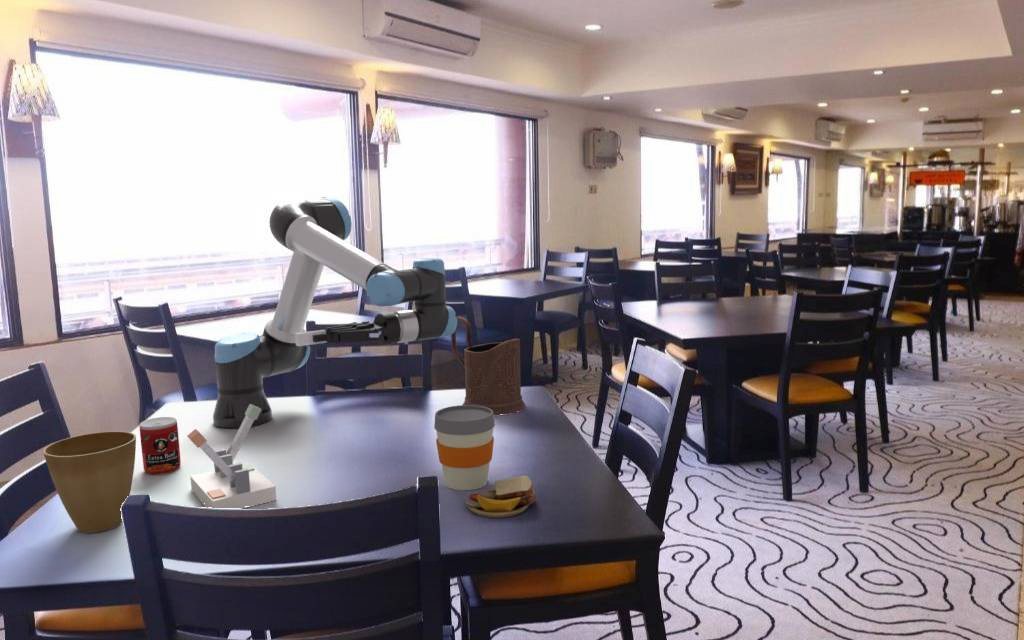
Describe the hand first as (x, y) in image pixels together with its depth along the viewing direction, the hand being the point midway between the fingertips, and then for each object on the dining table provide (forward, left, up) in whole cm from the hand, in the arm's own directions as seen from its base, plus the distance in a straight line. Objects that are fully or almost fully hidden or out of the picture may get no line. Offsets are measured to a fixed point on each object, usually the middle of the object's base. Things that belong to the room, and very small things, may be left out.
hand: (296, 339), depth 163 cm
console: (+6, -17, -29) cm, 34 cm away
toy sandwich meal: (+44, +23, -30) cm, 57 cm away
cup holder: (-18, +61, -30) cm, 70 cm away
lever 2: (0, -17, -25) cm, 31 cm away
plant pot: (+4, -41, -30) cm, 51 cm away
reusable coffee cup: (+29, +24, -30) cm, 48 cm away
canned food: (-21, -25, -30) cm, 44 cm away
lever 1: (+11, -17, -25) cm, 33 cm away
